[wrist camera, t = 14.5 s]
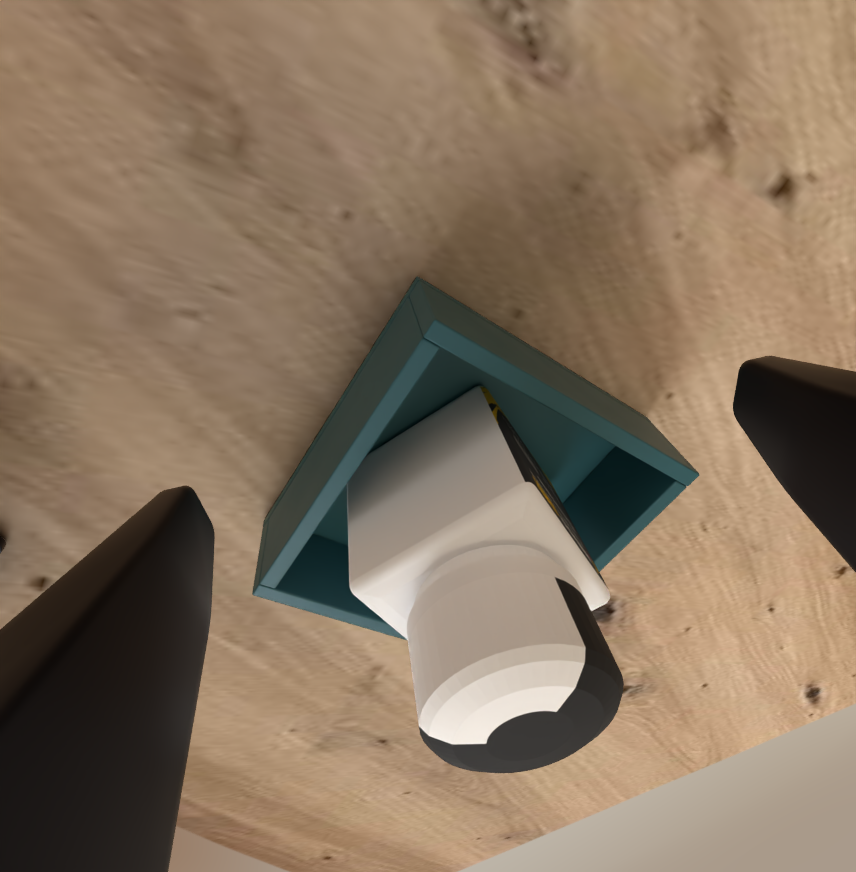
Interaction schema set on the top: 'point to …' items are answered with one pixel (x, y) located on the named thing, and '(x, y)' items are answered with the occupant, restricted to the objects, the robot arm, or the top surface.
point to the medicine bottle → (483, 590)
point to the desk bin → (427, 393)
